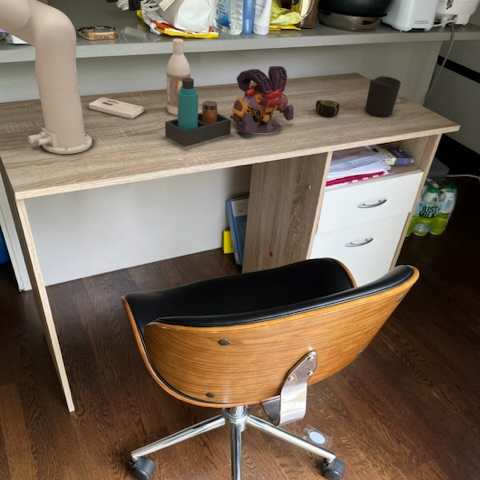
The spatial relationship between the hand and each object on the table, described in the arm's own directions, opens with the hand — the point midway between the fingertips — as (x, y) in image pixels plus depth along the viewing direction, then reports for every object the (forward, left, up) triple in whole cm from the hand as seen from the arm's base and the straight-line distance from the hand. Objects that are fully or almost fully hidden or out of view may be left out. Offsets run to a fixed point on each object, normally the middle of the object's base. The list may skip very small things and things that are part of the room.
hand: (123, 6), depth 129 cm
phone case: (+4, +14, -31) cm, 34 cm away
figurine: (+31, -20, -31) cm, 48 cm away
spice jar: (+16, -15, -30) cm, 37 cm away
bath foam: (+19, +3, -31) cm, 36 cm away
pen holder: (+74, -32, -31) cm, 86 cm away
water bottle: (+8, -15, -30) cm, 34 cm away
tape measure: (+58, -23, -31) cm, 69 cm away
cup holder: (+12, -15, -30) cm, 36 cm away
